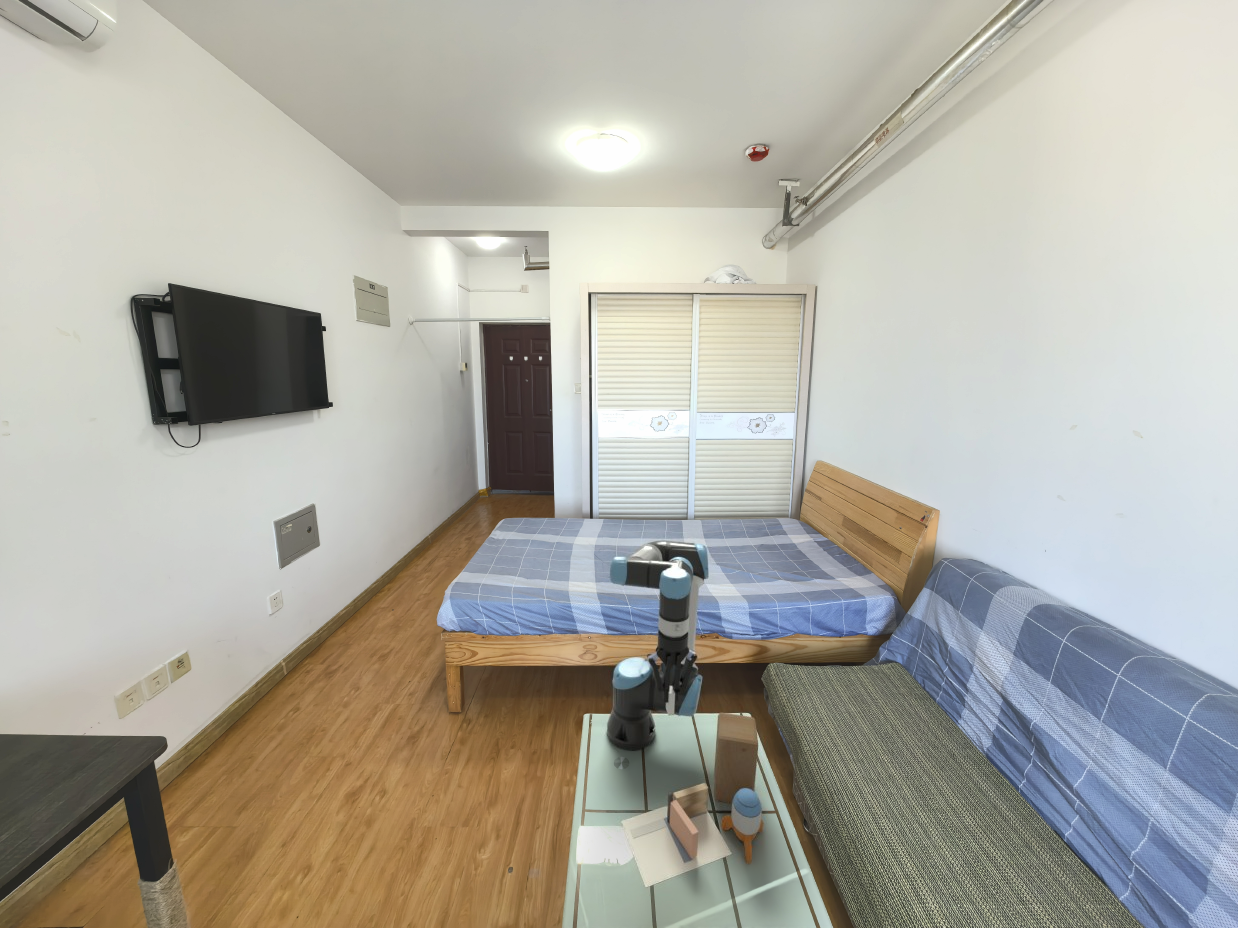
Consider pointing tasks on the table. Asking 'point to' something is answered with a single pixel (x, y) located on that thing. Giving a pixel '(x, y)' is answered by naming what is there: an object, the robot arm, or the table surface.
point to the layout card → (670, 845)
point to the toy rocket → (745, 818)
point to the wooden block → (735, 755)
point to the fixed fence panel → (690, 800)
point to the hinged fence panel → (684, 829)
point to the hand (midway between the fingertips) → (669, 711)
